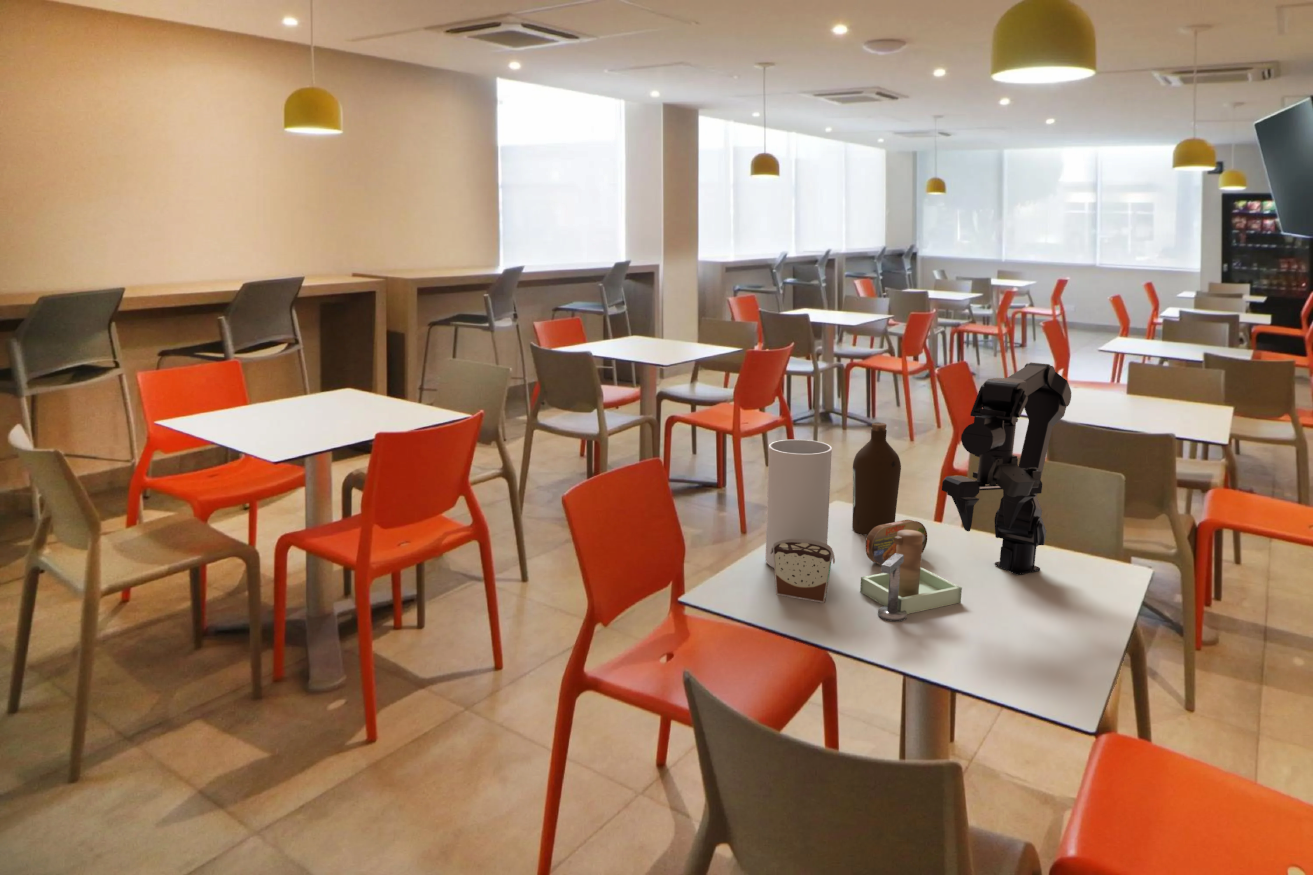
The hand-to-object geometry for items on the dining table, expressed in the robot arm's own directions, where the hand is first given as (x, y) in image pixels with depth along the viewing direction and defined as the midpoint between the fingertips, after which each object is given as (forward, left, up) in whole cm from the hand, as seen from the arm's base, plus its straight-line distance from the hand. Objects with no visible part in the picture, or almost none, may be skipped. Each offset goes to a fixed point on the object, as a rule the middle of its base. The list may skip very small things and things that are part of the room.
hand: (987, 529), depth 178 cm
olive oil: (-5, -40, -13) cm, 42 cm away
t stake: (+23, +2, -13) cm, 26 cm away
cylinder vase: (+23, -29, -13) cm, 39 cm away
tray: (+13, -5, -13) cm, 19 cm away
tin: (+3, -22, -13) cm, 26 cm away
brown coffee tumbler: (+14, -5, -12) cm, 19 cm away
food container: (+30, -15, -13) cm, 36 cm away
